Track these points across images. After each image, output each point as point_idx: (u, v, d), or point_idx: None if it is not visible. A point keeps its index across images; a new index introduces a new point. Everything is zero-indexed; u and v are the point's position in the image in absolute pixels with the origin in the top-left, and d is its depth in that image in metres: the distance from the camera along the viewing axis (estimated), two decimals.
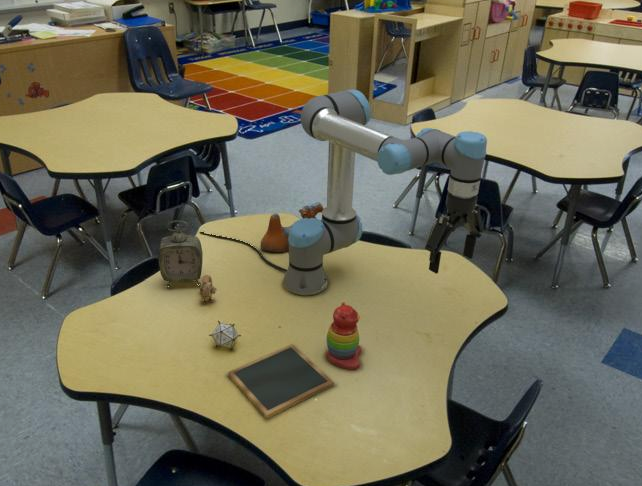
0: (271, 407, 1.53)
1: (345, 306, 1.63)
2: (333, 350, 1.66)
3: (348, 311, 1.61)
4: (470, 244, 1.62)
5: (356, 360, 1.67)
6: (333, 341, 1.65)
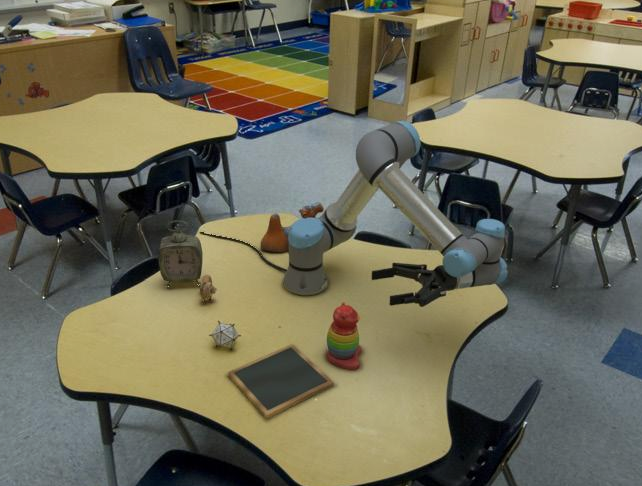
0: (271, 407, 1.53)
1: (345, 306, 1.63)
2: (333, 350, 1.66)
3: (348, 311, 1.61)
4: (386, 275, 1.68)
5: (356, 360, 1.67)
6: (333, 341, 1.65)
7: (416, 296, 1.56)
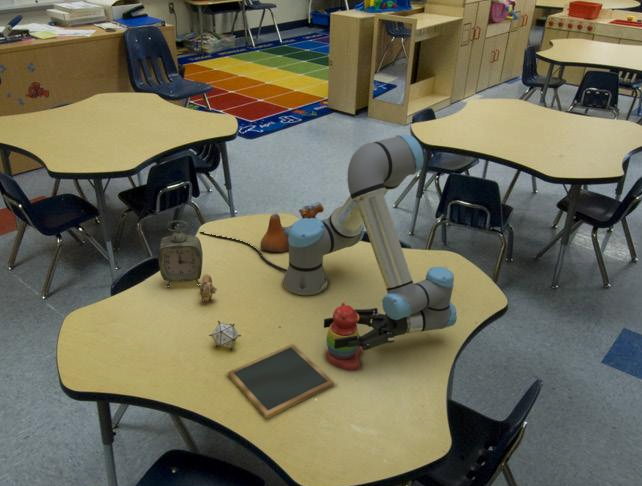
0: (271, 407, 1.53)
1: (345, 306, 1.63)
2: (333, 350, 1.66)
3: (348, 311, 1.61)
4: None
5: (356, 360, 1.67)
6: (333, 341, 1.65)
7: (359, 339, 1.61)
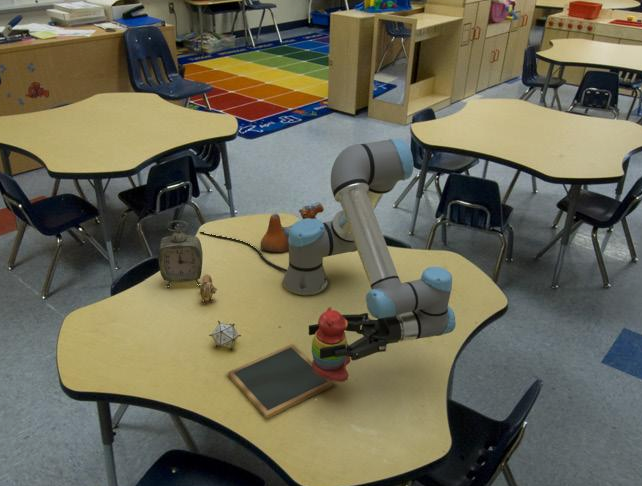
0: (271, 407, 1.53)
1: (331, 311, 1.47)
2: (319, 360, 1.49)
3: (335, 317, 1.45)
4: None
5: (344, 371, 1.51)
6: (319, 350, 1.48)
7: (347, 349, 1.45)
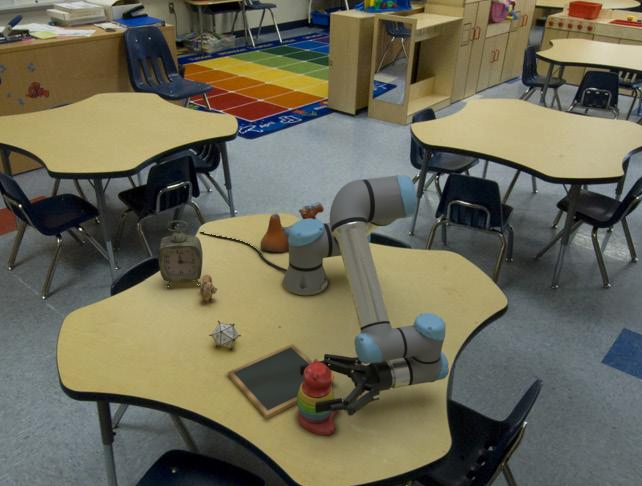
0: (271, 407, 1.53)
1: (317, 364, 1.43)
2: (304, 413, 1.46)
3: (320, 371, 1.41)
4: None
5: (330, 424, 1.47)
6: (304, 403, 1.44)
7: (344, 403, 1.39)
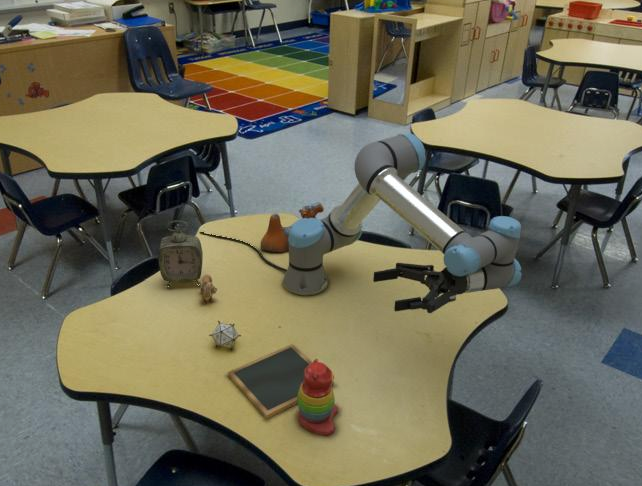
0: (271, 407, 1.53)
1: (317, 364, 1.43)
2: (304, 413, 1.46)
3: (320, 371, 1.41)
4: (389, 277, 1.53)
5: (330, 424, 1.47)
6: (304, 403, 1.44)
7: (424, 301, 1.41)
